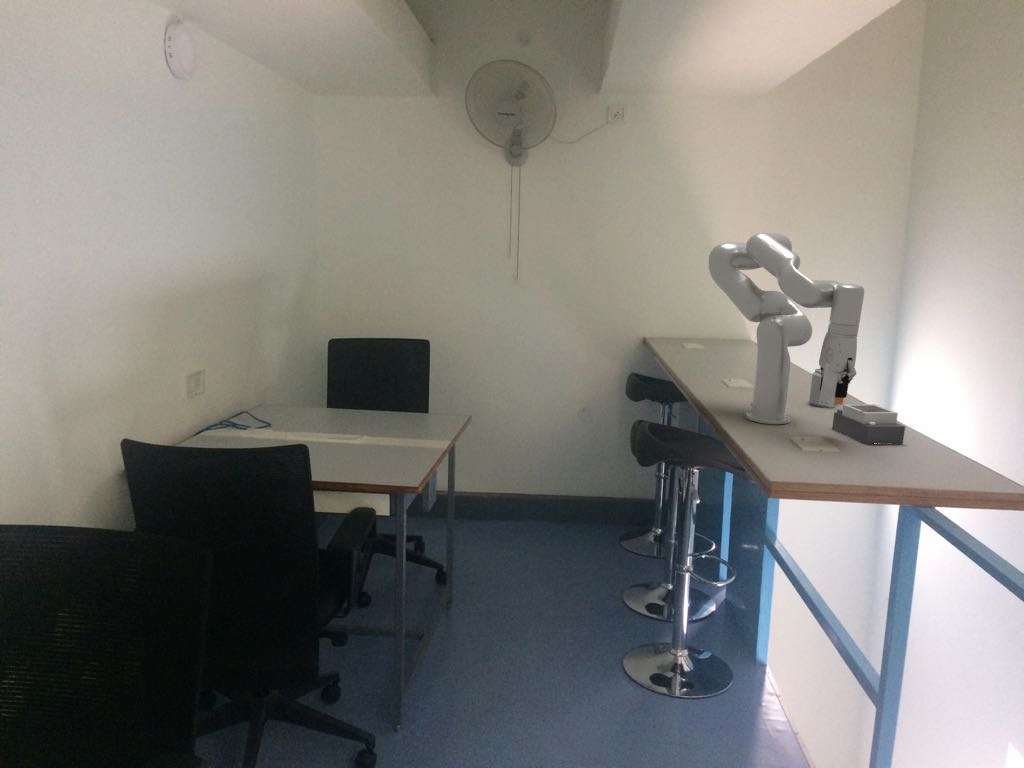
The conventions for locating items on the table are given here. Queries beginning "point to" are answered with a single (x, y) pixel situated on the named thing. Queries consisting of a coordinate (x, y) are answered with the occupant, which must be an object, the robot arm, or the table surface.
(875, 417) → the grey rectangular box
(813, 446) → the table surface
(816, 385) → the can
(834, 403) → the skincare box
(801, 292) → the robot arm
